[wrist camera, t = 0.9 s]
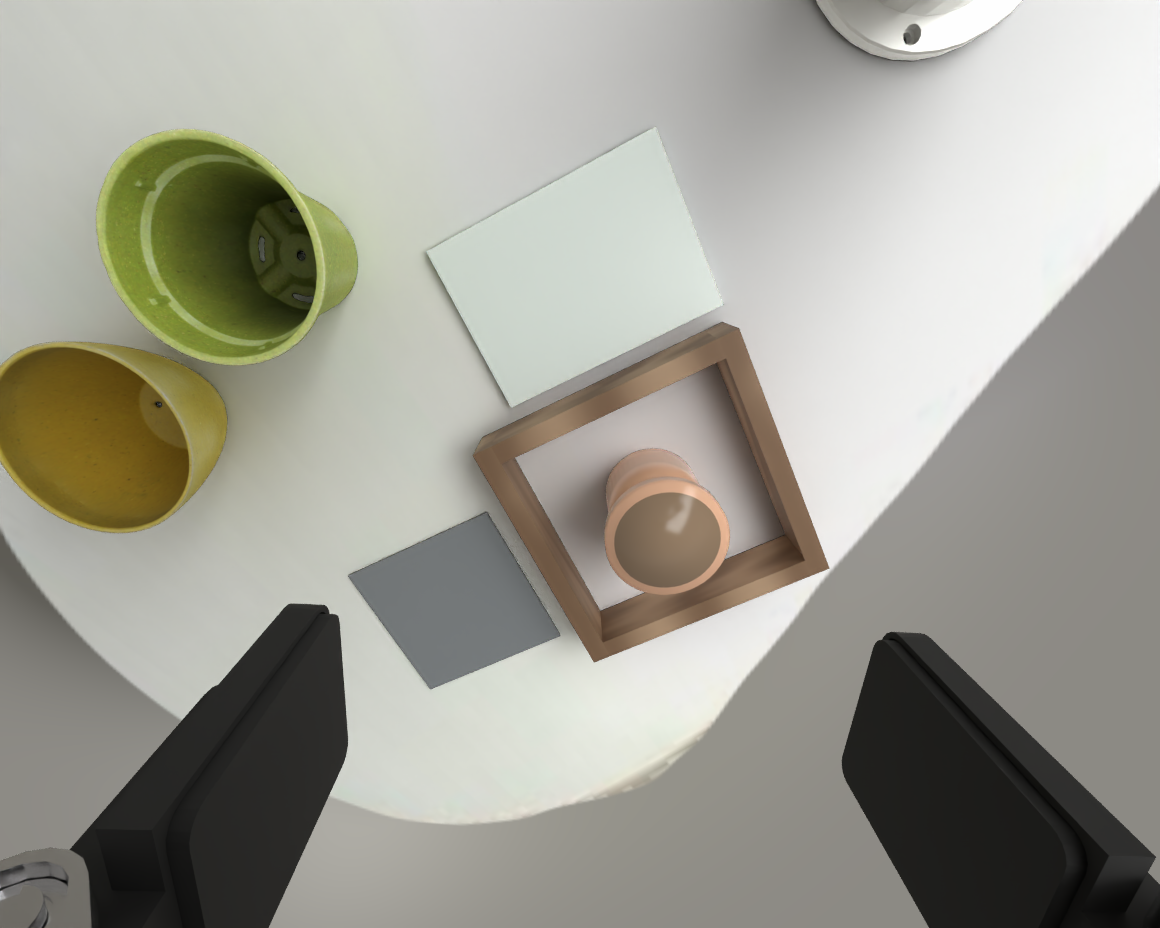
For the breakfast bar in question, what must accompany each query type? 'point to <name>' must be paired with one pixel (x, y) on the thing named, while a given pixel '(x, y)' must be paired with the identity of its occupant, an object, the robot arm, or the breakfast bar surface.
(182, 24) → the breakfast bar surface
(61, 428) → the flower pot
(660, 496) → the terracotta pot
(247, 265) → the plant pot
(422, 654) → the slate mat
